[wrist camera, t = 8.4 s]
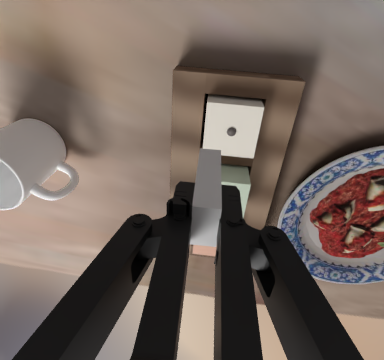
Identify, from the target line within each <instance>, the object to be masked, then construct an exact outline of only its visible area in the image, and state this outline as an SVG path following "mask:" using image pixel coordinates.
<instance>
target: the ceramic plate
mask: <svg viewBox="0 0 384 360" xmlns="http://www.w3.org/2000/svg"><path fill="white" fill-rule="evenodd" d="M277 228H279V229H281V230H283V231H284V232H285V233H286V235H287V236H288V238H289V240H290V241H291V243H292V244H293V246H294V248H295V249H296V251H297V253H298V254H299V256H300V257H301V259H302V261H303V262H304V264H305V265H306V267H307V269H308V270H309V272H310V274H311V275H312V277H314V278H316V279H319V280H323V281H327V282H332V283H338V284H368V283H376V282H381V281H384V146H378V147H372V148H368V149H364V150H361V151H357V152H353V153H351V154H348V155H346V156H343V157H341V158H338V159H336V160H334V161H332V162H330V163H328V164H327V165H325V166H323V167H322V168H320V169H318V170H317V171H316V172H314V173H313V174H311V175H310V176H309V177H308V178H307V179H305V180H304V181H303V182H302V183H301V184H300V185H299V186H298V187H297V188H296V189H295V190H294V192H293V193H292V194H291V195H290V197H289V198H288V200H287V201H286V203H285V205H284V206H283V208H282V211H281V213H280V216H279V220H278V225H277Z"/></svg>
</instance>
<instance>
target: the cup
mask: <svg viewBox="0 0 384 360" xmlns="http://www.w3.org/2000/svg"><path fill="white" fill-rule="evenodd" d="M65 158H66V147H65V144H64V141H63V139H62V138H61V136H60V135H59V133H58V132H57V131H56V130H55V129H54V128H53V127H51V126H50V125H48V124H47V123H45V122H43V121H40V120H37V119H30V118H26V119H20V120H17V121H15V122H13V123H11V124H9V125H7V126H5V127H3V128H1V129H0V210H10V209H14V208H16V207H18V206H19V205H20V204H21V203H22V202H23V201H25V200H26V199H27V198H28V197H29V196H30V195H31V194H33V195H35V196H37V197H39V198H42V199H45V200H58V199H61V198H63V197H65V196H67V195H68V194H70V193H71V192H72V191H73V190H74V189H75V187H76V186H77V184H78V182H79V176H78V173H77V172H76V170H75V169H74V168H73V167H71V166H70V165H68V164H67V163H65V162H64V161H65ZM57 170H60V171H62V172H64V173H66V174H68V175H69V176H70V182H69V183H68V184H67V185H66V186H65V187H64V188H62V189H60V190H58V191H49V190H47V189H45V188H43V187H42V186H41V185H42V184H43V183H44V182H45V181H46V180H47V179H48V178H49V177H50V176H51V175H53V174H54V173H55V172H56V171H57Z"/></svg>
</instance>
